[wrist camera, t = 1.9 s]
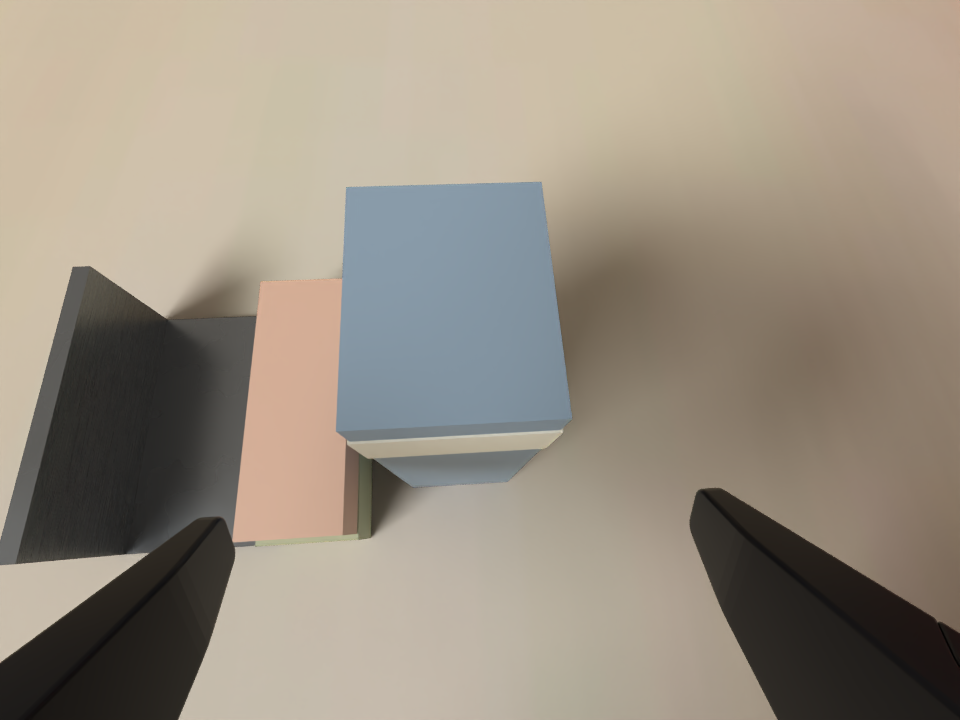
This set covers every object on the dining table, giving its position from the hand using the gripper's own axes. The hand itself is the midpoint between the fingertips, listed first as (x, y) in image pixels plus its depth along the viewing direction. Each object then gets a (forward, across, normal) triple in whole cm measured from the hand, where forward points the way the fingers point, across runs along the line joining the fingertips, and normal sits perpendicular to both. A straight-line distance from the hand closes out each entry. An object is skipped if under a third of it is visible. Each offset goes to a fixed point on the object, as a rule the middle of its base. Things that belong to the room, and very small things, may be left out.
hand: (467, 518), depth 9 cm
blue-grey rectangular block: (+10, 0, +5) cm, 12 cm away
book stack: (+11, +6, +4) cm, 13 cm away
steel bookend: (+11, +10, +4) cm, 16 cm away
